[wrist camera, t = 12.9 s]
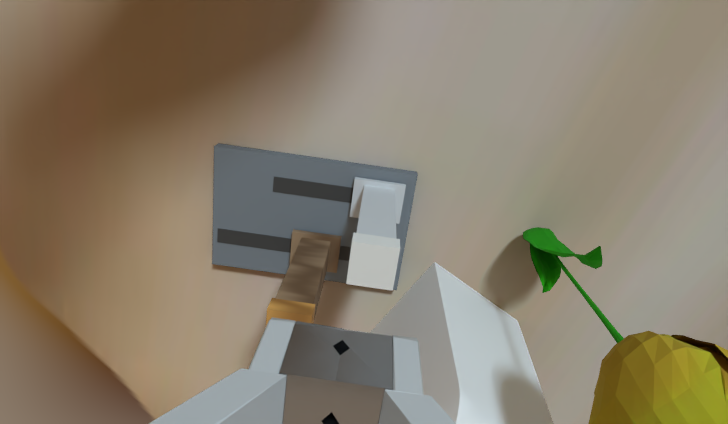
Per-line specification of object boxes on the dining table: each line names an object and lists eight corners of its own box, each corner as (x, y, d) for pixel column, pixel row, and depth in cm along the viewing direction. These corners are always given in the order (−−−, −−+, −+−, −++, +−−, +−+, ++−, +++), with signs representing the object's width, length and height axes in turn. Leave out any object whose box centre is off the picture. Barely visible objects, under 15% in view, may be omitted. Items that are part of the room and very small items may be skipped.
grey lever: (350, 214, 47) (334, 286, 34) (355, 176, 45) (341, 236, 32) (399, 221, 47) (402, 295, 34) (405, 184, 45) (412, 246, 32)
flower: (556, 276, 50) (770, 589, 22) (485, 255, 49) (610, 547, 21) (593, 204, 47) (898, 461, 19) (518, 181, 46) (715, 409, 18)
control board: (216, 258, 51) (208, 269, 49) (218, 143, 46) (209, 149, 44) (396, 284, 51) (396, 296, 49) (416, 171, 46) (418, 178, 44)
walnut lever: (290, 263, 49) (254, 348, 36) (293, 229, 48) (256, 304, 35) (337, 270, 49) (318, 357, 36) (341, 236, 48) (323, 314, 35)
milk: (517, 320, 52) (629, 571, 28) (450, 384, 56) (497, 655, 31) (434, 261, 50) (476, 477, 26) (370, 332, 54) (354, 579, 29)
